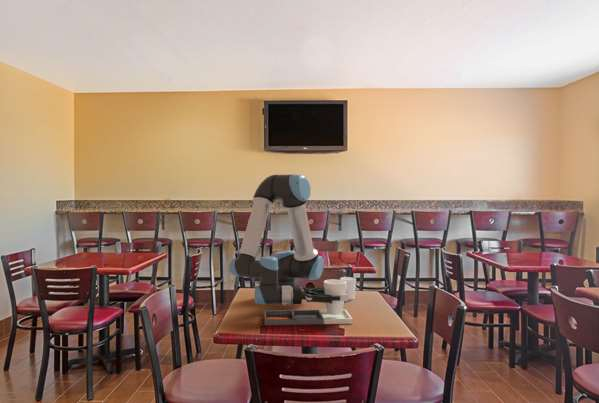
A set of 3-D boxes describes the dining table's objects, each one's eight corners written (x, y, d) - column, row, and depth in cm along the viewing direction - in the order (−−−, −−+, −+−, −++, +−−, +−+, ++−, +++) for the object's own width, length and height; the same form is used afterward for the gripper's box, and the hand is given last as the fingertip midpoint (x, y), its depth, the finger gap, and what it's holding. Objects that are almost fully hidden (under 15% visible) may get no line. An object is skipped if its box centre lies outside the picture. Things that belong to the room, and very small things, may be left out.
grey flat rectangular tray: (264, 325, 158) (264, 320, 158) (264, 315, 171) (264, 310, 171) (352, 323, 161) (352, 318, 161) (345, 313, 174) (345, 309, 174)
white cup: (337, 299, 199) (337, 279, 199) (343, 295, 206) (343, 276, 206) (352, 301, 195) (352, 280, 195) (357, 297, 202) (358, 278, 202)
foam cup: (345, 310, 171) (346, 279, 171) (346, 316, 162) (346, 284, 162) (323, 309, 172) (324, 279, 172) (322, 315, 163) (323, 283, 163)
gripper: (290, 297, 176) (340, 297, 178) (293, 311, 154) (350, 311, 156) (290, 280, 176) (340, 280, 178) (294, 292, 154) (351, 292, 156)
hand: (345, 294), depth 167 cm, fingers closed on foam cup, 9 cm apart
